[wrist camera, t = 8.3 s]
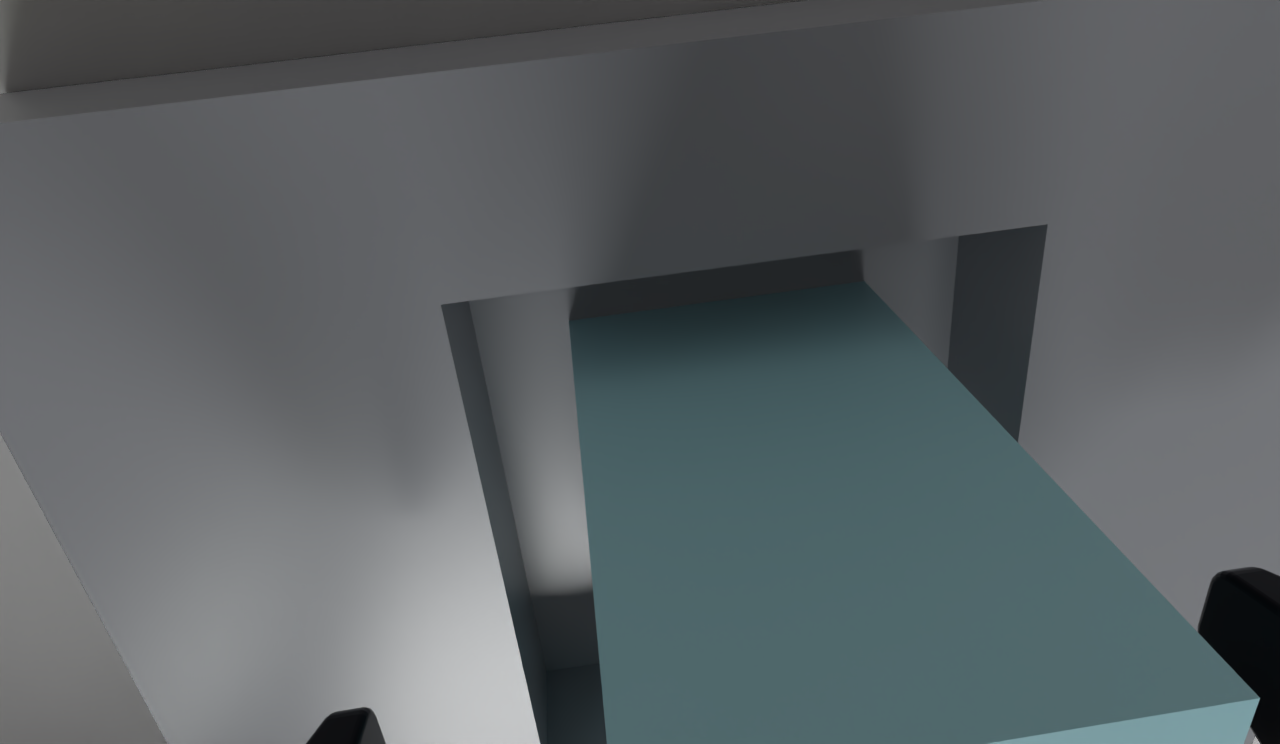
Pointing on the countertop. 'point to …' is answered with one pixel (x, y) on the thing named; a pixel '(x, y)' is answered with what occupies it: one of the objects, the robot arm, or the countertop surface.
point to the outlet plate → (601, 286)
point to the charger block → (853, 548)
